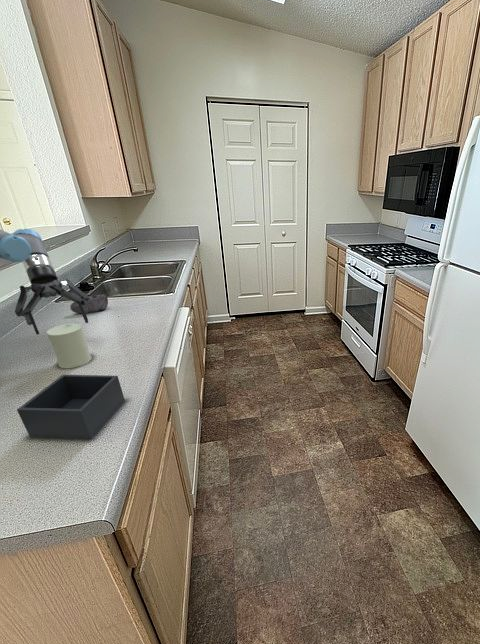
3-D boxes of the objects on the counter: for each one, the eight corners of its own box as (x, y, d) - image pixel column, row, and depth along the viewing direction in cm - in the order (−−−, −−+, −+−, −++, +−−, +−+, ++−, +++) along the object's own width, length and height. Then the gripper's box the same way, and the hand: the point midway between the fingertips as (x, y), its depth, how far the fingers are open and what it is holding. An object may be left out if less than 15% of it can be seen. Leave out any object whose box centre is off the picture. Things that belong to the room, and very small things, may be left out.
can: (96, 353, 113) (85, 320, 107) (85, 367, 105) (73, 332, 99) (66, 355, 111) (54, 323, 106) (53, 369, 103) (39, 334, 98)
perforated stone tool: (72, 316, 144) (67, 301, 141) (72, 312, 148) (67, 298, 145) (110, 310, 151) (106, 295, 148) (110, 307, 155) (106, 292, 152)
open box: (30, 437, 76) (16, 409, 72) (72, 399, 89) (62, 374, 85) (91, 439, 75) (80, 411, 72) (125, 401, 88) (117, 375, 85)
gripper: (-12, 271, 100) (11, 332, 97) (82, 259, 115) (105, 311, 111) (-5, 285, 106) (17, 342, 103) (84, 272, 121) (105, 321, 117)
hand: (62, 326), depth 107 cm, fingers open, 13 cm apart
